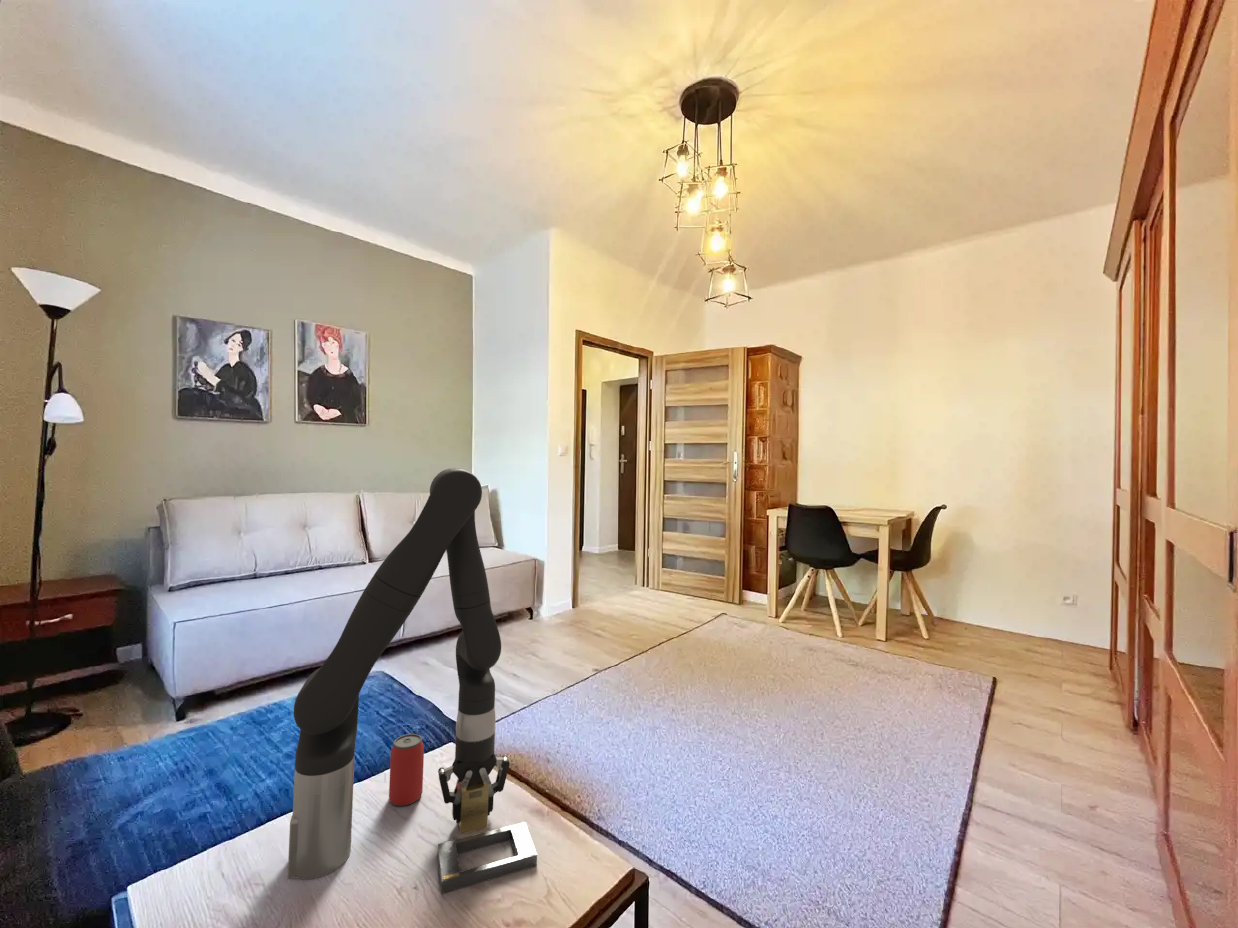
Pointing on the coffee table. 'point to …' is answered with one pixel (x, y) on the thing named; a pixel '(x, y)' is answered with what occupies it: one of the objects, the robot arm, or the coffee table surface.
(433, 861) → the coffee table surface
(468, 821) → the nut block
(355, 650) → the robot arm
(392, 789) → the beer can
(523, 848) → the grey rectangular frame
